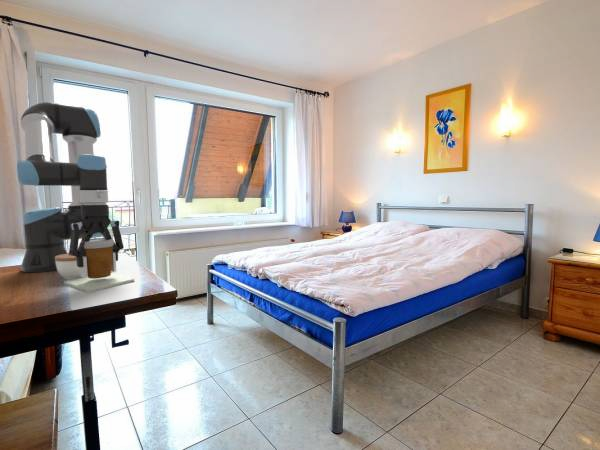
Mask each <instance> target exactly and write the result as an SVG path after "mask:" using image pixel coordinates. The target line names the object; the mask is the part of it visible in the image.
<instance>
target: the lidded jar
mask: <svg viewBox="0 0 600 450" xmlns="http://www.w3.org/2000/svg"><path fill="white" fill-rule="evenodd" d="M55 263H56V268H57V270H56V271H57V273H58V274H59V275H60V276H62V277H64V279H65V280H74V279H79V278H83V277H81V268H80V267H78V266H77V258H76V256H71V255H69V252H67V254H61V255H58V256H55Z"/></svg>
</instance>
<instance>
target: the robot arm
mask: <svg viewBox="0 0 600 450" xmlns="http://www.w3.org/2000/svg"><path fill="white" fill-rule="evenodd" d="M20 126H21V128H22V130H23V131H24V144H25V145H24V146H25V147H24V149H25V150H24V151H25V152H24V153H25V160H19V161H17V162H16V170H17V180H18V183H19V184H20V185H24V186H34V187H38V186H41V187H42V186H50V187H51V186H53V187H54V186H63V187H64V186H65V187H70V188H71V189H70V191H71V200H72V201H71V203H69V204H68V206H67V210H63V209H62V207H61V206H58V207H49V208H41V209H40V208H39V209H33V210H29V211H25V213H24V214H23V222H22V223H23V224H22V225H23V226H24V227H23V228H24V238H25V254H24V256H23V259H22V263H21V271H22V272H23V273H42V272H51V271H57V268H56V263H55V256H58V255H61V254H67V253H69V255H71V256H76V258H77V266H78V267H80V268H81V277H82V278H86V277H88V273H87V258H86V257H85V256H83V255H84V253H85V248H84V247H83V246H84V243H85V242H89V240H90V239H94V238H105V239H106V240H110V239H113V242H114V245H113V252H112V265H111V272H113V273H116V272H117V262H118V261H119V252H120V251H121V250H124V248H125V247H124V243H123V238H122V235H121V231H120V221H119V220H116V219H115V220H111V219H110V209H109V208H110V207H109V205H108V203H109V194H108V193H109V191H108V180H107V179H108V177H107V168H108V167H107V163H106V162H107V161H106V157H105V156H104V155H101V154H94V144H95V143H96V142H98V141H97V140H98V139H97V138H100V137H101V124H100V120H99V116H98V114H97V112H96V111H95V110H94V109H93V108H91V107H86V106H85V107H84V106H83V105H81V106H78V105H72V104H65V103H56V102H51V101H49V102H48V101H46V102H45V101H44V102H39V103H36V104H34V105H31V106H30V107H28V108H27V109H26V110H24V112H23V113H22V115H21V117H20ZM53 134H58V135H61V136H62V140H63V141H65V142H66V143H67V149H68V150H67V151H68V162H63V161H61V162H60V161H59V162H58V161H56V160H55V151H54V143H53V142H54V141H53ZM109 226H110V227H111V231H112V235H113V237H112V235H111V232H110V231H109V229H108V227H109ZM67 240H69V241H70V243H69V248H68V250H69V251H68V252H67V249H66V248H65V241H67ZM79 240H80V242H79ZM81 241H83V243H82V242H81Z"/></svg>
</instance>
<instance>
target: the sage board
mask: <svg viewBox="0 0 600 450" xmlns="http://www.w3.org/2000/svg"><path fill="white" fill-rule="evenodd" d="M132 281H133V282H135V278H133V277H129V276H125V275H120V274H118V273H115V272H113V273H112V272H111V275H110V276H108V277H104V278H96V279H92V278H88V277H86V278H84V277H82V278H77V279H68V280H66V281H65V280H64V281H63V284H64V285H66V286H68V287H69V286H70V287H72V288H75V289H78V290H82V291H83V292H87V293H90V292H94V291H95V292H96V291H99V290H103V289H108V288H111V287H116V286H120V285H124V284H127V283H133V282H132Z"/></svg>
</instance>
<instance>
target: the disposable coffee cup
mask: <svg viewBox="0 0 600 450" xmlns="http://www.w3.org/2000/svg"><path fill="white" fill-rule="evenodd" d="M113 240H114V238H112V239H110V240H106V239H105V238H104V237H95V238H90V240H89V242H85V243H84V246H83V247H84V248H85V253H84V255H83V256H85V257H86V258H87V273H88V278H92V279H96V278H104V277H108V276H110V275H111V273H112V271H111V265H112V252H113V245H114V242H115V241H114V242H113ZM80 242H82V243H83V241H81V240H80Z"/></svg>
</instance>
